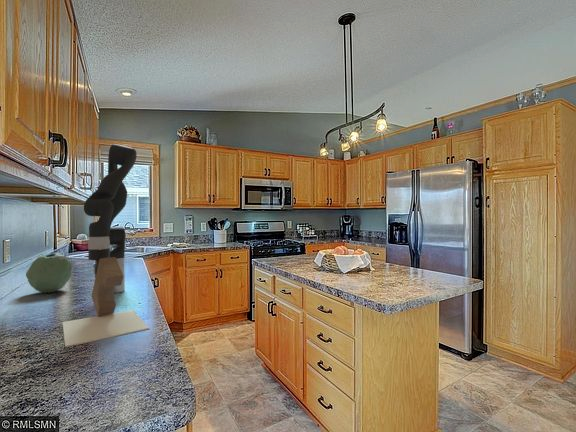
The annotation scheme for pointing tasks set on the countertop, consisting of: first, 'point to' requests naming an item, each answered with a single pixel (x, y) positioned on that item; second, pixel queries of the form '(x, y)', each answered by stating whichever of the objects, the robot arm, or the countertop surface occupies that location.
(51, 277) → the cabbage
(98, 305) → the decorative block
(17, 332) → the countertop surface
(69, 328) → the sand mat
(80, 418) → the countertop surface
